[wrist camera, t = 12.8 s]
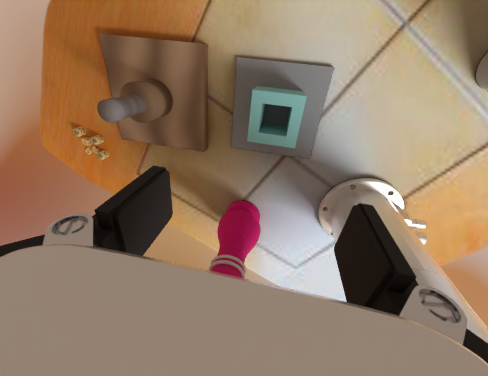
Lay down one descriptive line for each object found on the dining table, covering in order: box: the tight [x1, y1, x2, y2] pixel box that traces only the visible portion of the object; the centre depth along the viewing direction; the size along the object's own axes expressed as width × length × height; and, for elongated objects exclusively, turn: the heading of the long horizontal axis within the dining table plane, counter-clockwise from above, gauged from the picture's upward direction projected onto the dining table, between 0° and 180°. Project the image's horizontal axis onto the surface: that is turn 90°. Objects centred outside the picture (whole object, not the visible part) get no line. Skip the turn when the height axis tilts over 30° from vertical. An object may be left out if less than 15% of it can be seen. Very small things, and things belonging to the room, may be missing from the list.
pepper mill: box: [209, 201, 260, 279], centre depth 31 cm, size 7×7×20 cm
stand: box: [97, 33, 208, 152], centre depth 27 cm, size 14×14×11 cm
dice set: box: [72, 126, 109, 160], centre depth 37 cm, size 5×5×2 cm
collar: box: [247, 86, 307, 148], centre depth 27 cm, size 6×6×5 cm
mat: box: [231, 57, 334, 159], centre depth 30 cm, size 12×12×1 cm
